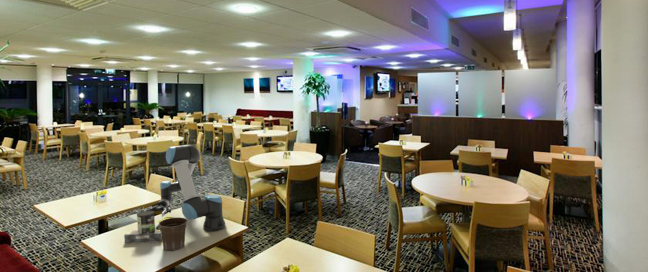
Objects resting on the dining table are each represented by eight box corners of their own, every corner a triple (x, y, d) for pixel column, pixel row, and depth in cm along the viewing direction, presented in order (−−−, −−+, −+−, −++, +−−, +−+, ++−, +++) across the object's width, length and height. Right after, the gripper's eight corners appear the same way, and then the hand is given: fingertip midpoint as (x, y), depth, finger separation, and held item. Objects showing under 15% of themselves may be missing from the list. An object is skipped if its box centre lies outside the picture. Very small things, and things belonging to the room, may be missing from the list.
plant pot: (193, 242, 224) (192, 218, 222) (178, 253, 208) (176, 227, 206) (171, 240, 227) (169, 216, 225) (154, 251, 211) (152, 225, 209)
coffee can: (158, 231, 234) (157, 210, 232) (148, 237, 224) (147, 216, 222) (145, 229, 236) (144, 209, 234) (134, 235, 226) (133, 215, 224)
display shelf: (167, 233, 238) (166, 225, 237) (160, 241, 225) (160, 233, 224) (133, 234, 235) (132, 227, 235) (124, 243, 222) (124, 235, 221)
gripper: (179, 209, 262) (171, 219, 242) (145, 210, 259) (133, 221, 239) (179, 199, 262) (170, 209, 241) (144, 201, 258) (132, 210, 238)
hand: (152, 215), depth 240 cm, fingers open, 13 cm apart
